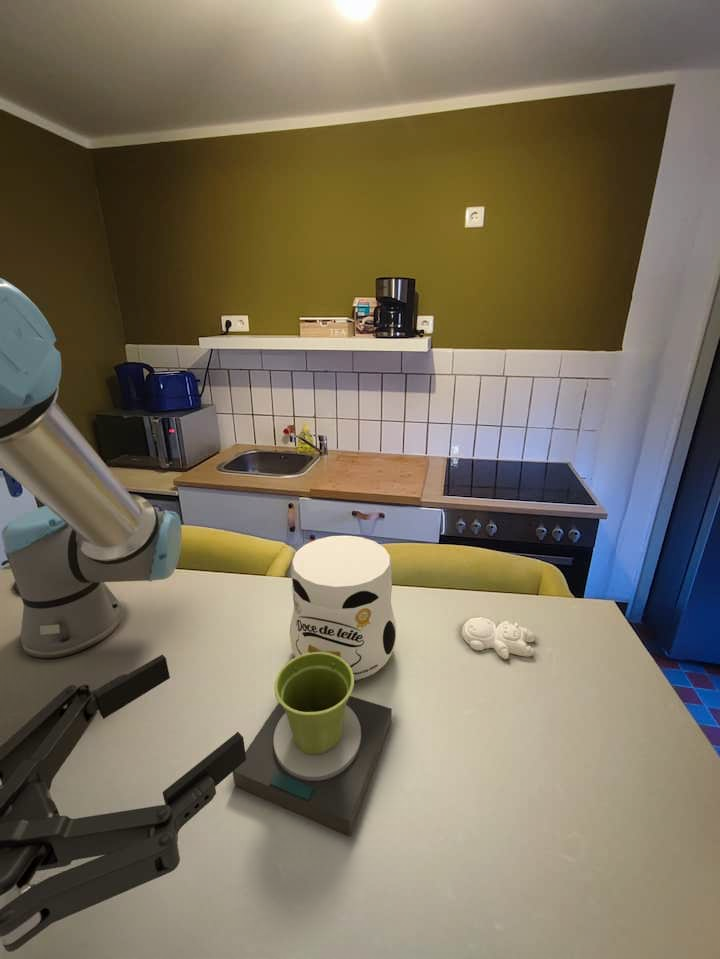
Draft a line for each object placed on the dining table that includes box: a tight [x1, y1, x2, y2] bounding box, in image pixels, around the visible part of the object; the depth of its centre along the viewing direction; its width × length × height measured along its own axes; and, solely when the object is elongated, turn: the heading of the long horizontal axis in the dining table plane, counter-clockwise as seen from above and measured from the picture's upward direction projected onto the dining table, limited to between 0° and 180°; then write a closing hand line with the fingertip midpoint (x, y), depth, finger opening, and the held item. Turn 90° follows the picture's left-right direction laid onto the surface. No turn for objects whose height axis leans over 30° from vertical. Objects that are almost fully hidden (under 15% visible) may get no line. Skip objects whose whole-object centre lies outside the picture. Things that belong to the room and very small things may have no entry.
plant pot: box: [274, 652, 355, 755], centre depth 52 cm, size 9×9×9 cm
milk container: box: [289, 535, 397, 682], centre depth 69 cm, size 17×17×18 cm
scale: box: [232, 695, 393, 837], centre depth 55 cm, size 15×15×3 cm
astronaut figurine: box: [461, 616, 536, 660], centre depth 74 cm, size 9×12×3 cm
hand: (200, 701), depth 41 cm, fingers open, 13 cm apart
